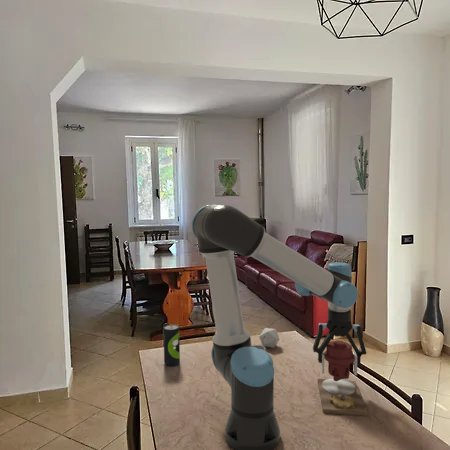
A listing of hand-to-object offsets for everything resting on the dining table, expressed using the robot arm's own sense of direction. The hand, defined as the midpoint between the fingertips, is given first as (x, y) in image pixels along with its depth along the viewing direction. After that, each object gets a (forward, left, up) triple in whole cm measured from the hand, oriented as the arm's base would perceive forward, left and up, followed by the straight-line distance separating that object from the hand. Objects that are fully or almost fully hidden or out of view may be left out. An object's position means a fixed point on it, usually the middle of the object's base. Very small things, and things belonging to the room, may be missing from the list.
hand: (338, 372), depth 131 cm
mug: (+18, +30, -7) cm, 36 cm away
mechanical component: (0, 0, -2) cm, 2 cm away
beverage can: (+13, +63, -7) cm, 65 cm away
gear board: (-5, 0, -6) cm, 8 cm away
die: (+36, +25, -7) cm, 45 cm away
